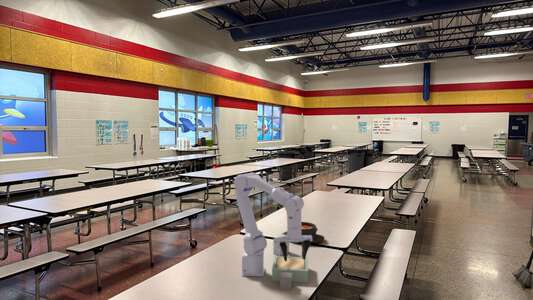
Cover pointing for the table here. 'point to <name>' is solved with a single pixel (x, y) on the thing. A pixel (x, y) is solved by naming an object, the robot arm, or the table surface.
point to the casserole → (310, 231)
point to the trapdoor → (290, 263)
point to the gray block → (286, 281)
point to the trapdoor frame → (291, 271)
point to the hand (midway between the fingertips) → (294, 259)
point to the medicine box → (277, 248)
